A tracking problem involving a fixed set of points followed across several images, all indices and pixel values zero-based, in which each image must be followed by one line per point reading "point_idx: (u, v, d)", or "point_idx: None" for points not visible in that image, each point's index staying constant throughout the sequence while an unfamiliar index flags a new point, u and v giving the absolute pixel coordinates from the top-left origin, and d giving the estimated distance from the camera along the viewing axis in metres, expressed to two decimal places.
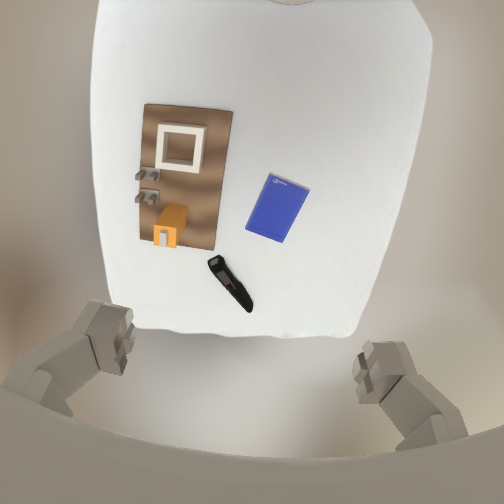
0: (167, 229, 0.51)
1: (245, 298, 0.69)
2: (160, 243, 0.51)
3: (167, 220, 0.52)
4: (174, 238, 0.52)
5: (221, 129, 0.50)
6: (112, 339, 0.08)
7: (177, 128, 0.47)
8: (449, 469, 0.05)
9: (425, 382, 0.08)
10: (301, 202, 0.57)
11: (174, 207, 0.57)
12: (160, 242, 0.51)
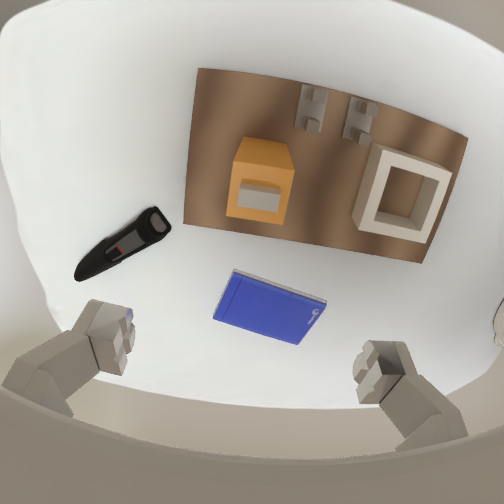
0: (279, 203, 0.21)
1: (98, 272, 0.35)
2: (247, 192, 0.19)
3: None
4: (253, 216, 0.21)
5: (404, 249, 0.32)
6: (112, 339, 0.08)
7: (437, 203, 0.26)
8: (449, 469, 0.05)
9: (425, 382, 0.08)
10: (280, 338, 0.41)
11: None
12: (250, 192, 0.19)
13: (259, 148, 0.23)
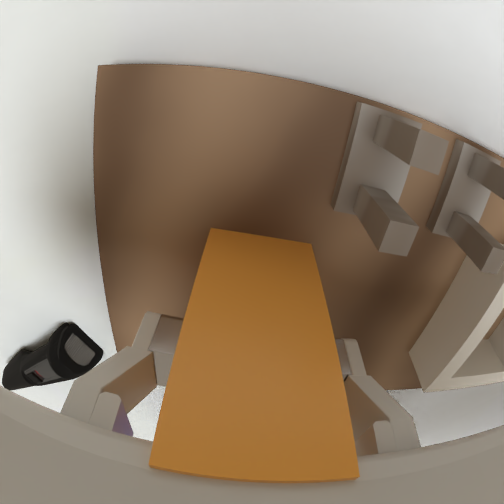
0: None
1: None
2: None
3: None
4: None
5: None
6: None
7: None
8: (449, 469, 0.05)
9: (374, 384, 0.08)
10: None
11: None
12: None
13: (246, 306, 0.08)
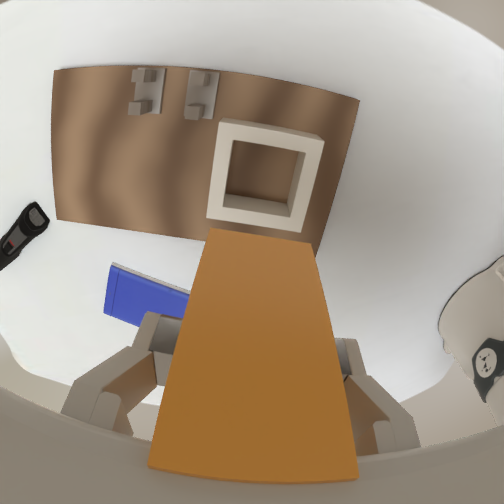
0: None
1: (2, 265, 0.31)
2: None
3: None
4: None
5: None
6: None
7: (307, 181, 0.23)
8: (449, 469, 0.05)
9: (374, 384, 0.08)
10: None
11: None
12: None
13: (245, 306, 0.08)
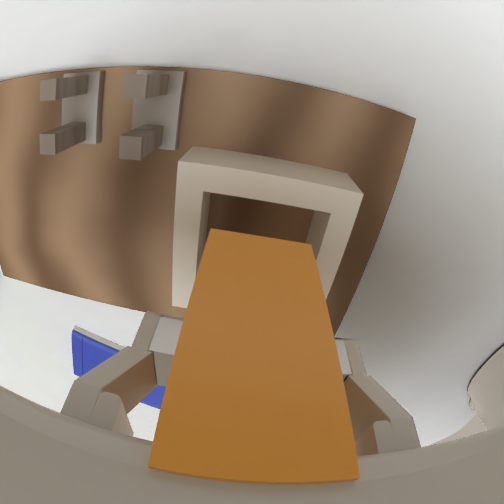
0: None
1: None
2: None
3: None
4: None
5: None
6: None
7: (331, 257, 0.14)
8: (449, 469, 0.05)
9: (374, 384, 0.08)
10: (153, 406, 0.29)
11: None
12: None
13: (246, 307, 0.08)
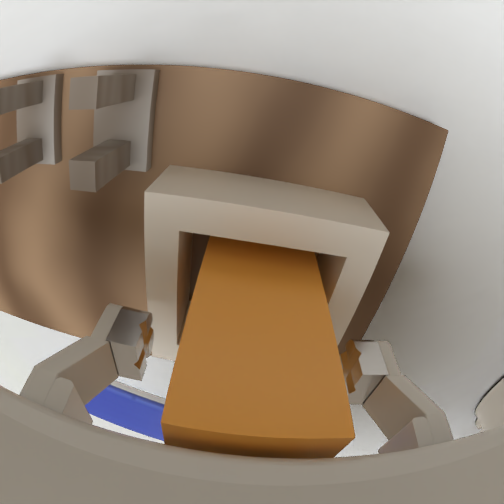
0: None
1: None
2: None
3: None
4: None
5: None
6: (134, 344, 0.08)
7: (343, 308, 0.11)
8: (449, 469, 0.05)
9: (409, 383, 0.08)
10: (145, 434, 0.26)
11: None
12: None
13: (249, 285, 0.09)
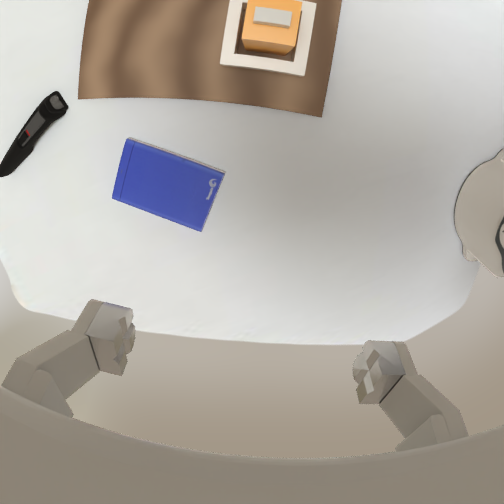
0: (290, 27, 0.18)
1: (13, 163, 0.31)
2: (262, 9, 0.16)
3: None
4: (267, 38, 0.19)
5: (293, 98, 0.29)
6: (112, 339, 0.08)
7: (306, 32, 0.23)
8: (449, 469, 0.05)
9: (425, 382, 0.08)
10: (180, 222, 0.37)
11: None
12: (265, 9, 0.16)
13: None
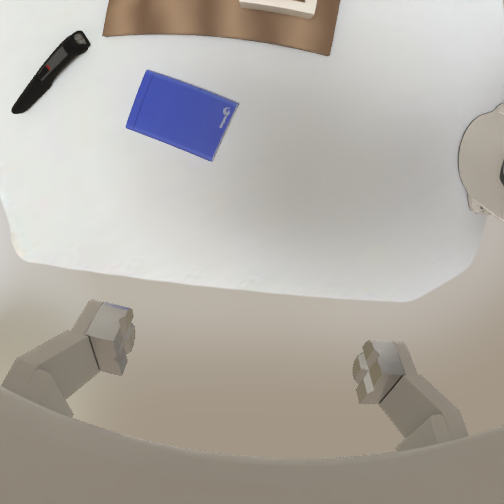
0: None
1: (29, 98, 0.30)
2: None
3: None
4: None
5: (304, 37, 0.28)
6: (112, 339, 0.08)
7: None
8: (449, 469, 0.05)
9: (425, 382, 0.08)
10: (191, 150, 0.36)
11: None
12: None
13: None
